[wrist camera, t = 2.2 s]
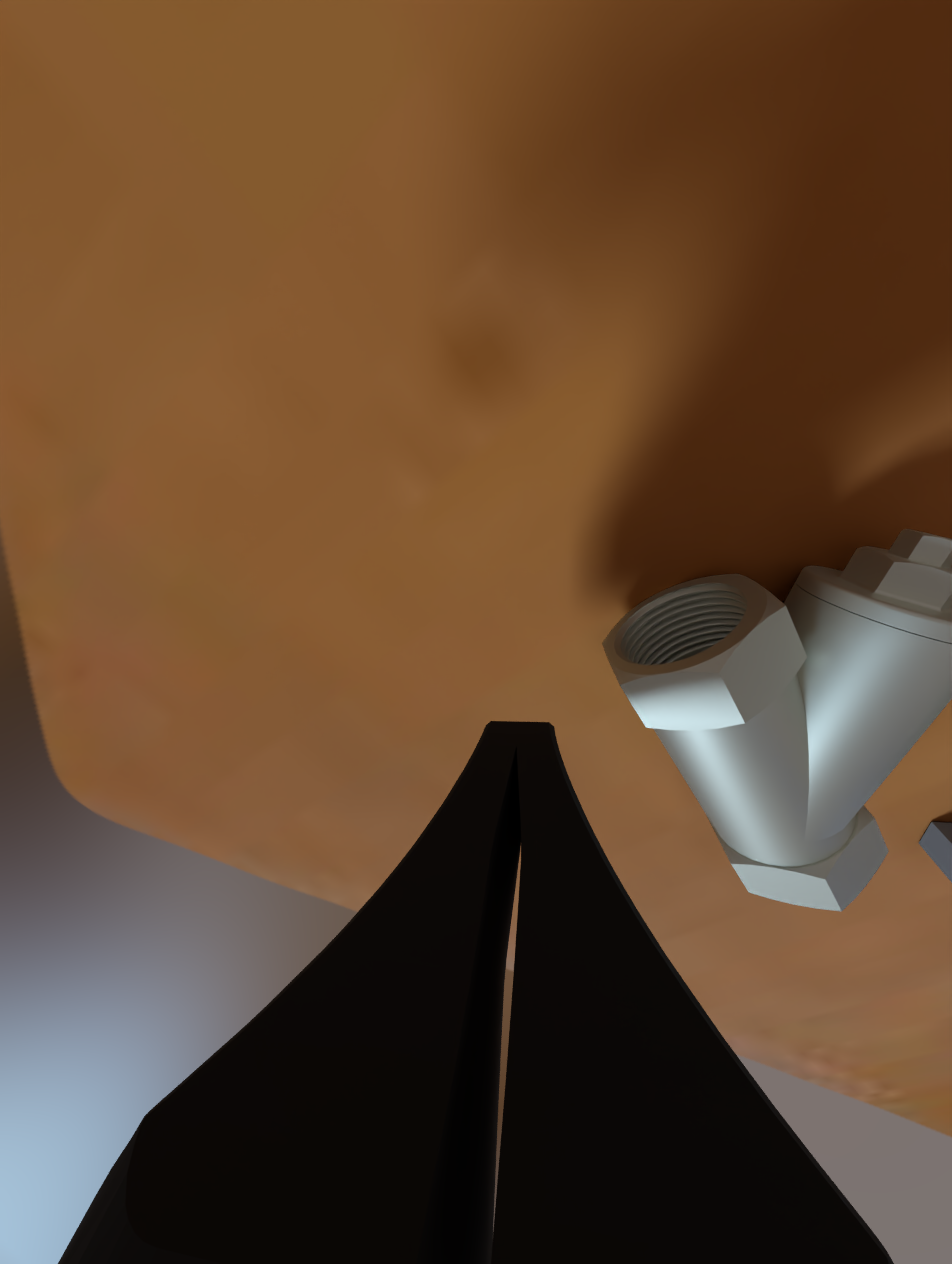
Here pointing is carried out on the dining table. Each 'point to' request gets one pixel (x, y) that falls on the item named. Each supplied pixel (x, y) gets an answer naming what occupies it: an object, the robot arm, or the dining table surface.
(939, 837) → the grey-green knobbed block
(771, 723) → the pipe fitting
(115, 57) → the dining table surface
